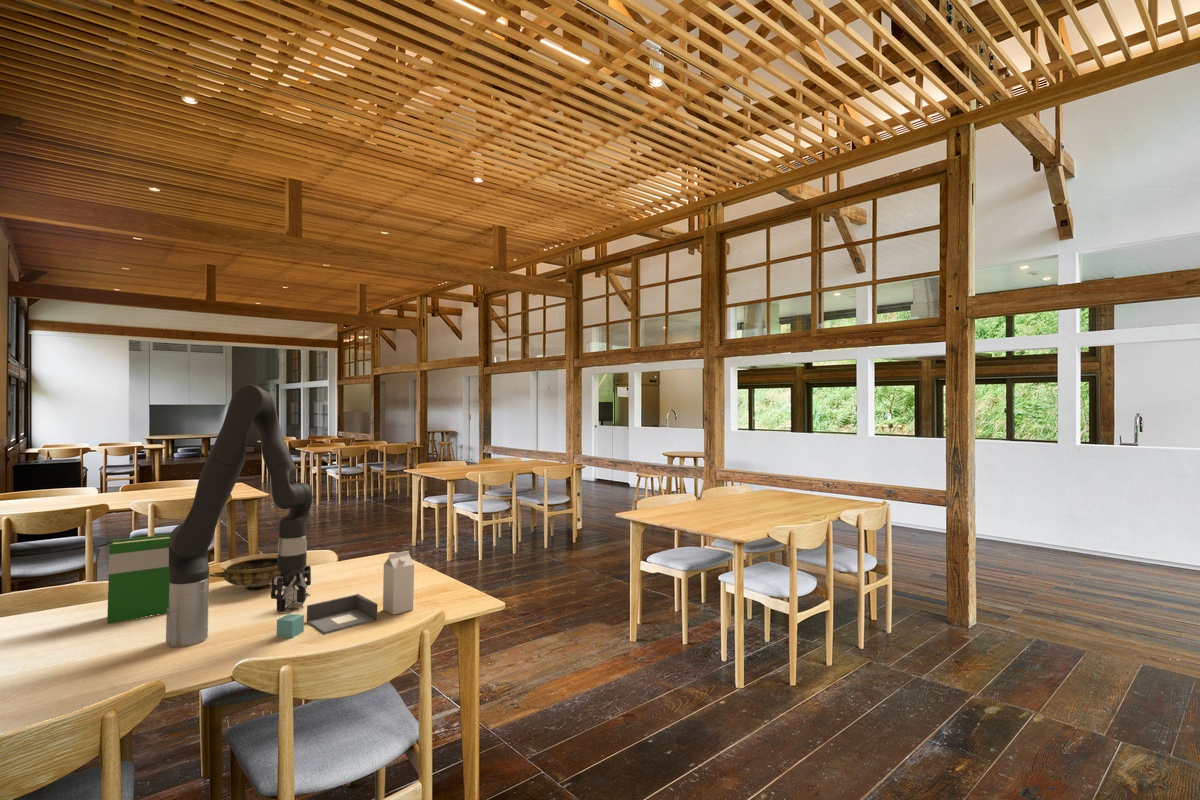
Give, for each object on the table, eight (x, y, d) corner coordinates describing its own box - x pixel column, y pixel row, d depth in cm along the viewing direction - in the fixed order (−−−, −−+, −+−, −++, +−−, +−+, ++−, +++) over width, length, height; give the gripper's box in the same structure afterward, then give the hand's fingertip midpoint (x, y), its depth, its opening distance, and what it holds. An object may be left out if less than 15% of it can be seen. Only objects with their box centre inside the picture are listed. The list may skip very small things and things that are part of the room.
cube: (292, 638, 165) (292, 620, 165) (276, 637, 166) (276, 619, 166) (303, 631, 170) (304, 614, 170) (288, 630, 171) (288, 613, 171)
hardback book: (107, 623, 174) (109, 544, 175) (107, 616, 180) (109, 540, 180) (178, 611, 186) (180, 537, 186) (177, 605, 191) (179, 533, 192)
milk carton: (382, 610, 189) (383, 552, 189) (402, 604, 194) (403, 548, 194) (393, 615, 184) (394, 556, 184) (413, 610, 189) (414, 552, 190)
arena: (324, 634, 168) (324, 616, 168) (306, 621, 178) (307, 605, 178) (377, 620, 180) (377, 604, 180) (357, 609, 189) (358, 593, 189)
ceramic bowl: (296, 573, 230) (297, 548, 230) (310, 588, 211) (311, 561, 211) (205, 587, 211) (206, 560, 211) (212, 604, 192) (213, 574, 192)
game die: (296, 620, 189) (293, 602, 183) (275, 609, 190) (272, 590, 185) (317, 600, 196) (314, 581, 190) (297, 589, 198) (294, 571, 192)
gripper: (287, 558, 161) (286, 616, 161) (319, 546, 175) (318, 599, 175) (263, 557, 162) (262, 614, 162) (296, 545, 176) (295, 598, 176)
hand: (291, 606), depth 168 cm, fingers open, 8 cm apart
